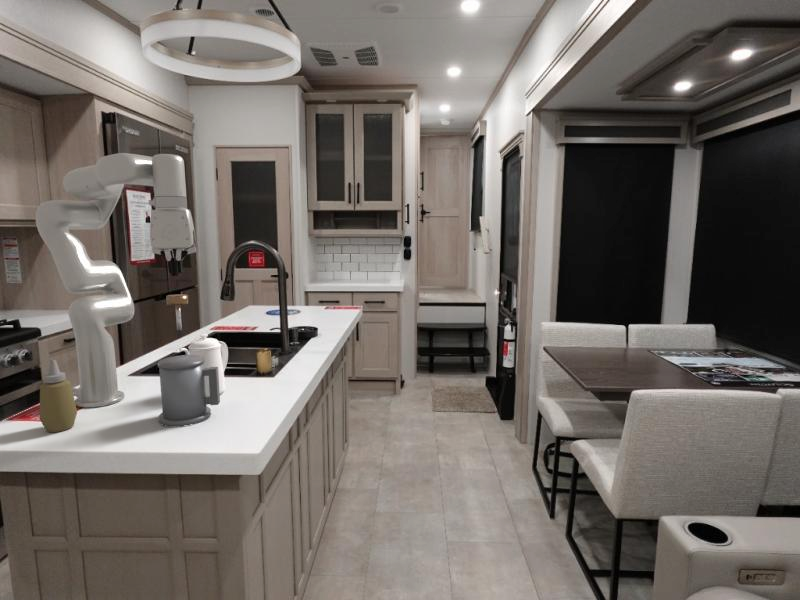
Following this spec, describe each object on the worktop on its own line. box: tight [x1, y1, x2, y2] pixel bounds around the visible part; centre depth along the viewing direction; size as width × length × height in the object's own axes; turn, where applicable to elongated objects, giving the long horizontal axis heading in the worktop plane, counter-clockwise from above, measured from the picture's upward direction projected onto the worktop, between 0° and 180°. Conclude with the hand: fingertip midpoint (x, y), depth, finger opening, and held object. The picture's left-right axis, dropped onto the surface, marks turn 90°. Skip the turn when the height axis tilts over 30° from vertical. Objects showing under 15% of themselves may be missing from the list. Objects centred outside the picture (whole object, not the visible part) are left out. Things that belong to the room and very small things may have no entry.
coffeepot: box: [176, 333, 229, 396], centre depth 154 cm, size 11×25×19 cm, turn 168°
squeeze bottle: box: [39, 359, 78, 433], centre depth 128 cm, size 8×8×18 cm
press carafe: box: [157, 354, 221, 427], centre depth 135 cm, size 16×13×16 cm
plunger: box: [165, 293, 189, 331], centre depth 132 cm, size 5×5×9 cm
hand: (176, 275), depth 130 cm, fingers closed
